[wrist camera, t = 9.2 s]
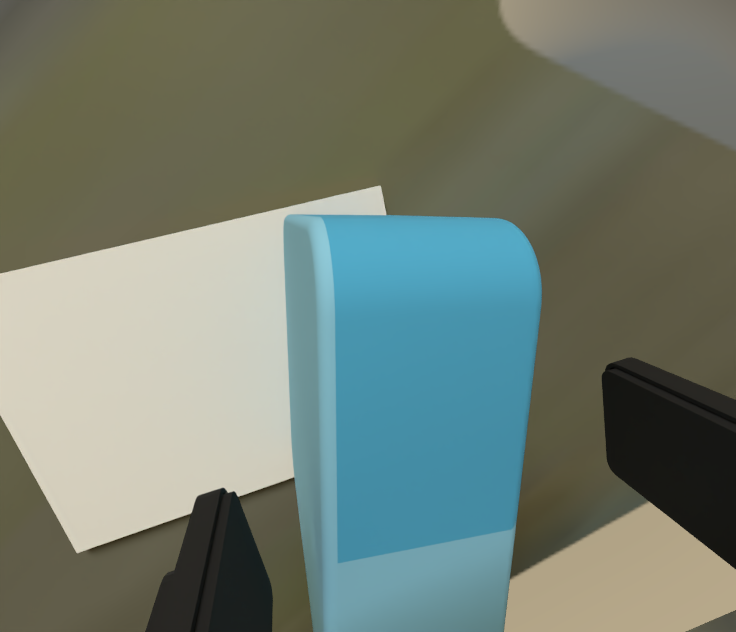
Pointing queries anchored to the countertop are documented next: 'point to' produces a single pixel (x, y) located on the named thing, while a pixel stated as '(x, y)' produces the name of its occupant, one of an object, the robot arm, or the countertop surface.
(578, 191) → the countertop surface
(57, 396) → the mat
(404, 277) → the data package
